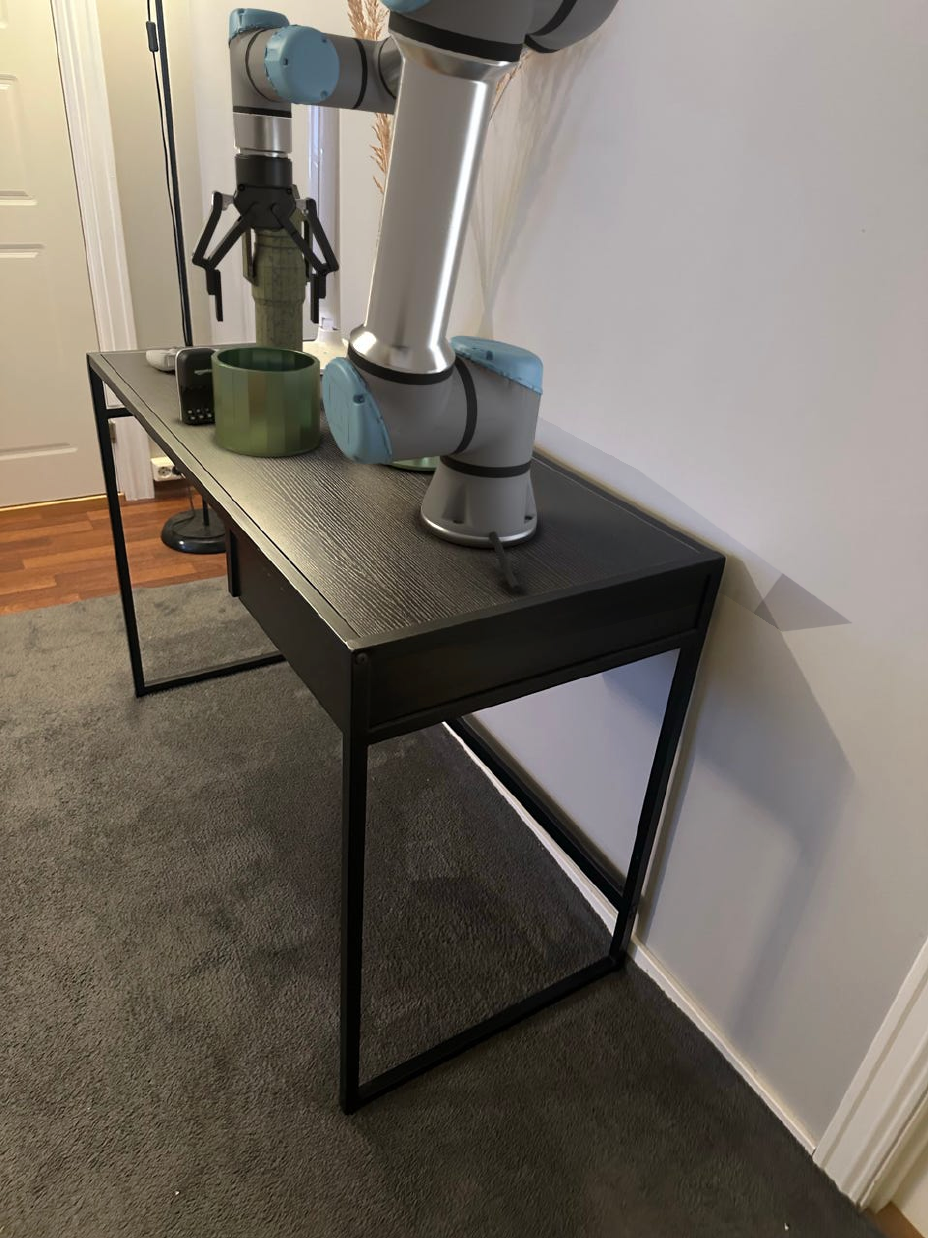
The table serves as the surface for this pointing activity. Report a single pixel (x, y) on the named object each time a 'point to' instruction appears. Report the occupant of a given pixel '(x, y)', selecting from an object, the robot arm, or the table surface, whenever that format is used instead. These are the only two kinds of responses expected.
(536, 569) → the table surface
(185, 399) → the battery charger
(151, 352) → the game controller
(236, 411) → the green pot
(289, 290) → the thermos
